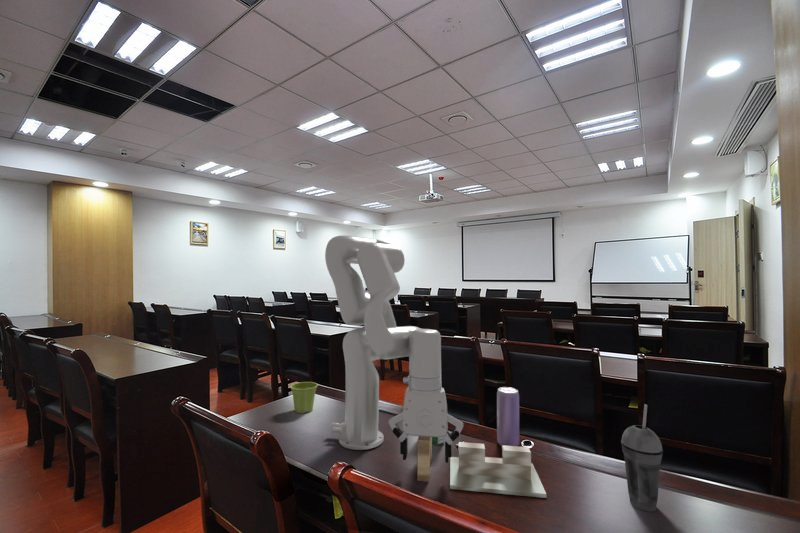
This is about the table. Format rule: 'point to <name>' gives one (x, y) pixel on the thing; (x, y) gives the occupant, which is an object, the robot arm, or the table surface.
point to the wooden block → (424, 458)
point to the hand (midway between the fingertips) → (425, 458)
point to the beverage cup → (642, 464)
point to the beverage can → (507, 416)
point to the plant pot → (303, 396)
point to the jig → (495, 471)
